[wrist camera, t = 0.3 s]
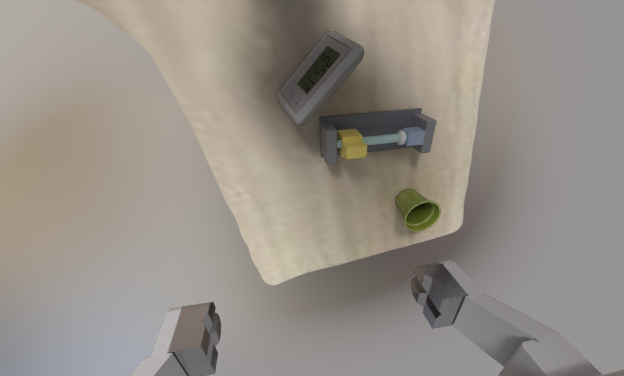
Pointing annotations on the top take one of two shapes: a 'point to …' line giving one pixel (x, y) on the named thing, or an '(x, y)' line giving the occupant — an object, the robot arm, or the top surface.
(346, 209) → the top surface
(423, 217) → the plant pot
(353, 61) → the digital clock
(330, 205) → the top surface
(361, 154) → the yellow stepped block
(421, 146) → the grey rectangular frame
